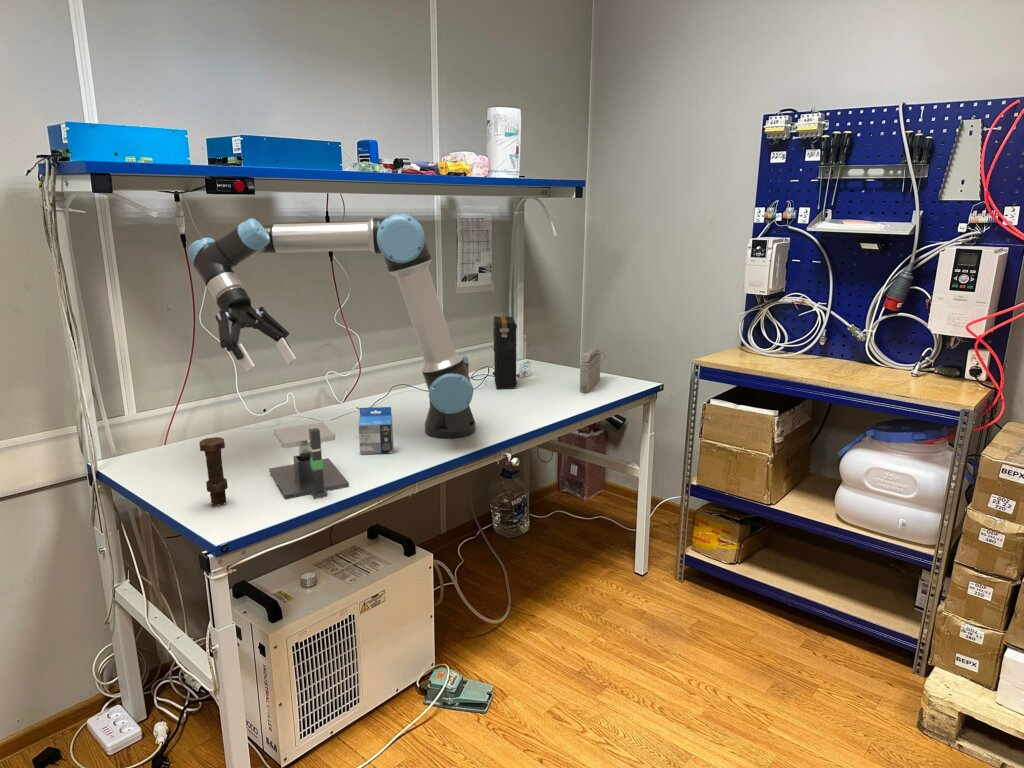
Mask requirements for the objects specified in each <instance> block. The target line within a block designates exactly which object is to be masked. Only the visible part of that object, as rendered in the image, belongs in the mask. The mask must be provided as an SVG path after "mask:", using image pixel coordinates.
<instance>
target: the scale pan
mask: <svg viewBox="0 0 1024 768" xmlns="http://www.w3.org/2000/svg"><path fill="white" fill-rule="evenodd" d="M314 428H318V429H319V430H320V441H321V443H326V442H327V443H328V442H334V441H336V435H335V433H334V432H333V431H331V430H330V428H329V427H328V425H326V424H325V423H324V422H314V423H307V424H300V425H294V426H287V427H281V428H275V429H273V435H274V436H275V438H276V439H277V440H278V442H279V444H280V445H281V446H282V447H283V449H290V448H295V447H298V455H299V456H300V460H303V461H306V460H310V458H311V452H310V440H309V429H314Z"/></svg>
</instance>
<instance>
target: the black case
mask: <svg viewBox="0 0 1024 768" xmlns="http://www.w3.org/2000/svg"><path fill="white" fill-rule="evenodd" d="M492 325H493V337H492V338H493V348H492V349H493V355H494V357H493V358H494V363H493V364H494V365H493V366H494V369H493V370H494V371H492V376H493V377H494V383H495V384H494V385H495V388H496V389H497V390H500V389H515V388H516V387H517V383H518V381H517V328H518V324H517V323H516V321H515V319H514V317H512V316H505V315H499V316H497V315H495V316H494V317H493V322H492Z"/></svg>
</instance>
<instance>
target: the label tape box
mask: <svg viewBox="0 0 1024 768" xmlns="http://www.w3.org/2000/svg"><path fill="white" fill-rule="evenodd" d="M375 411H377V413H373V412H375ZM371 412H372V413H371ZM379 412H380V413H379ZM358 419H359V421H358V441H359V454H360V455H376V454H377V455H380V454H393V452H394V432H393V415H392V407H391V406H378V407H373V406H372V407H371V406H370V407H369V406H368V407H359V418H358Z"/></svg>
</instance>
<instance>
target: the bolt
mask: <svg viewBox="0 0 1024 768" xmlns="http://www.w3.org/2000/svg"><path fill="white" fill-rule="evenodd" d="M225 443H226V442H225V438H223V437H220V436H219V437H217V436H214V437H207V438H204V439H201V440H200V441H199V451H200V452H204V456H205V460H206V461H205V462H206V468H207V478H208V480H207V481H206V482H205V485H206V491H207V492H208V493H209V495H210V501H211V502H210V503H211V504H212V505H213V506H216V507H217V506H221V505H225V504H226V502H227V495H226V494H227V493H226V490H227V489H229V485H228V479H227V478H225V476H224V468H223V467H224V466H223V460H222V459H223V458H222V449H225V448H226V444H225Z"/></svg>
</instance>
